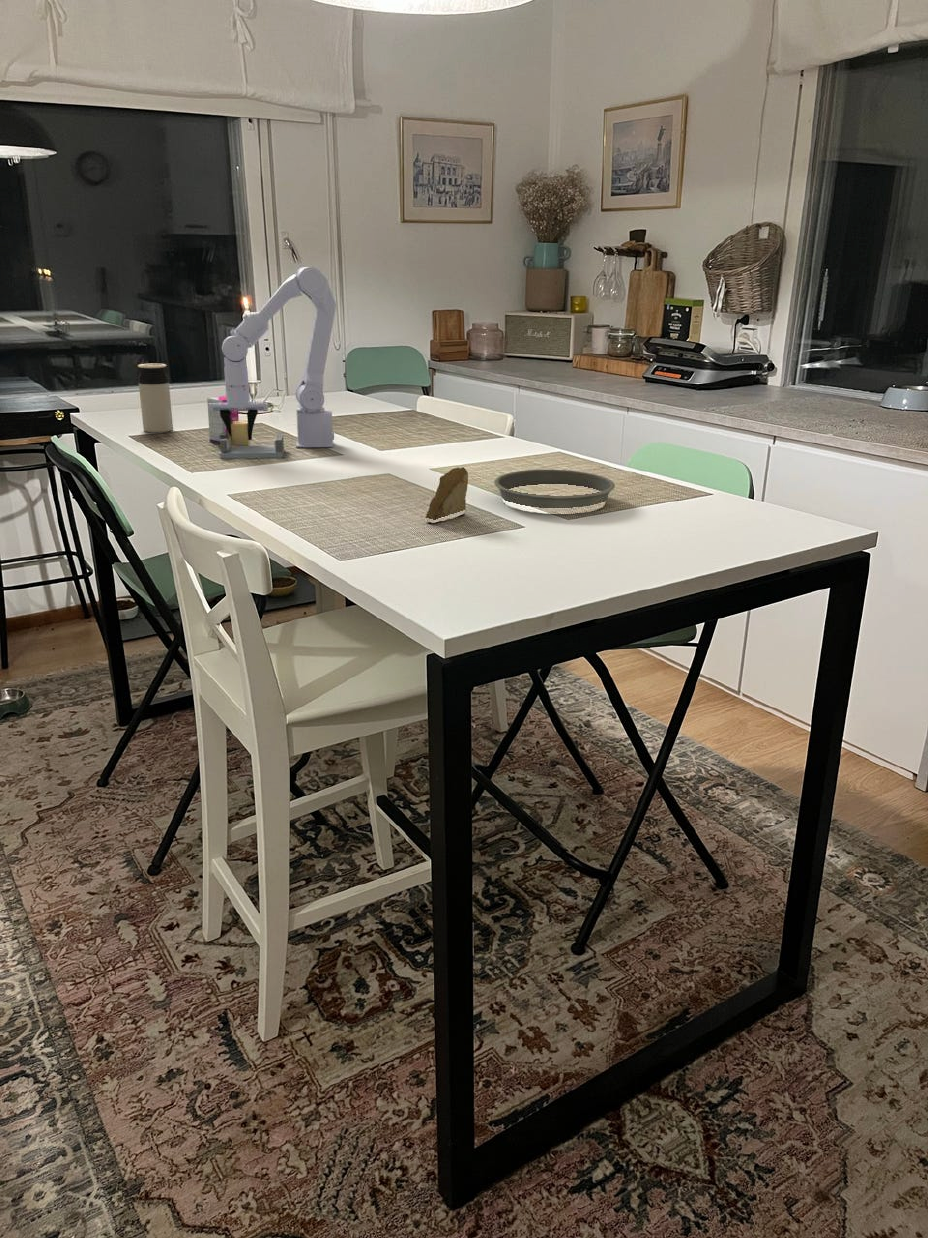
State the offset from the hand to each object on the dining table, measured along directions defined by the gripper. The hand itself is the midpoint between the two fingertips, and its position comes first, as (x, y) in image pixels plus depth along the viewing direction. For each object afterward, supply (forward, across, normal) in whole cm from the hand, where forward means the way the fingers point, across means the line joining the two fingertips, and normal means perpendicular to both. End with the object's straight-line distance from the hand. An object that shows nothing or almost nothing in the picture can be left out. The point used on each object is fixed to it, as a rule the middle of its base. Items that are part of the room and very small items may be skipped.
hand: (241, 439), depth 246 cm
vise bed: (+2, +3, -8) cm, 9 cm away
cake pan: (+3, +68, -64) cm, 93 cm away
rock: (+2, +44, -74) cm, 87 cm away
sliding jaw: (+1, -3, -8) cm, 9 cm away
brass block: (+2, 0, 0) cm, 2 cm away
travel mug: (+2, -25, +28) cm, 37 cm away
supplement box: (+2, -5, +10) cm, 11 cm away
